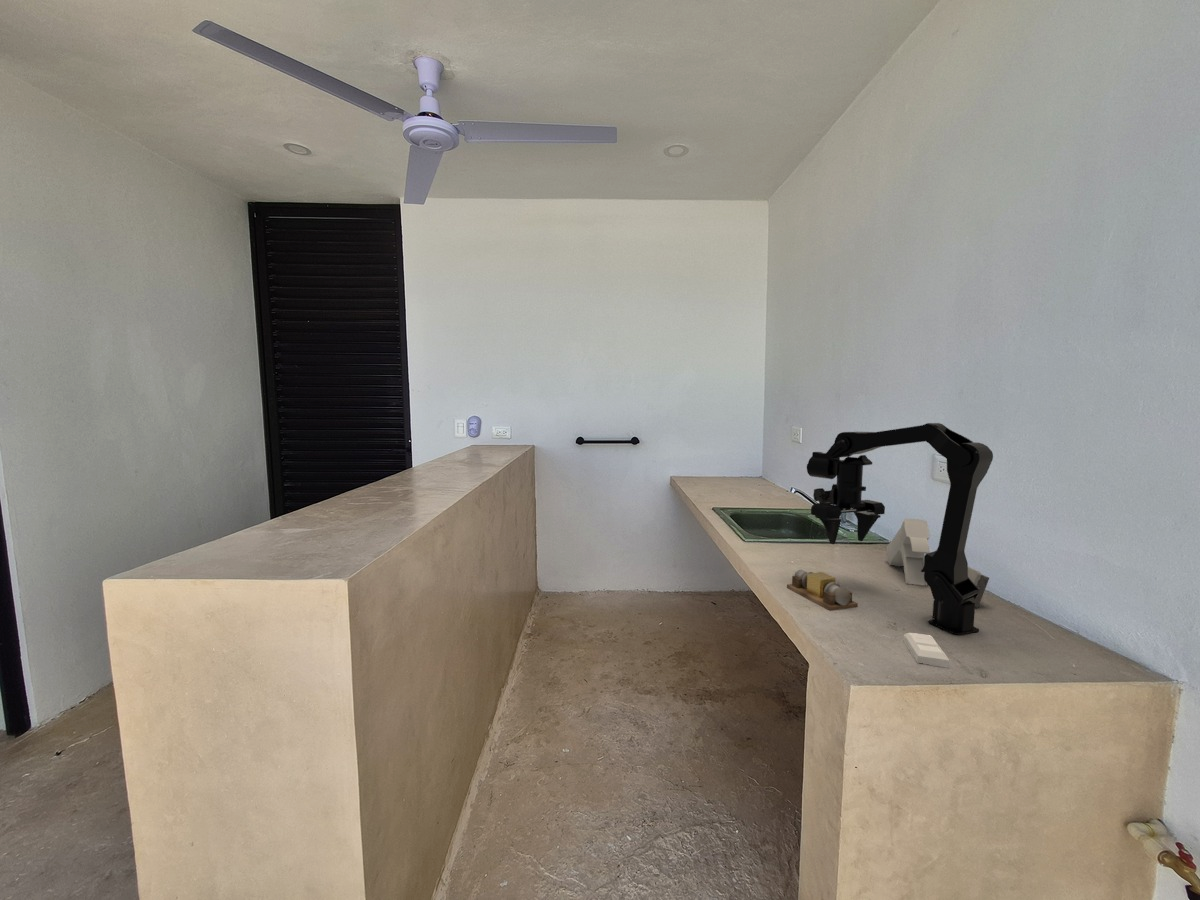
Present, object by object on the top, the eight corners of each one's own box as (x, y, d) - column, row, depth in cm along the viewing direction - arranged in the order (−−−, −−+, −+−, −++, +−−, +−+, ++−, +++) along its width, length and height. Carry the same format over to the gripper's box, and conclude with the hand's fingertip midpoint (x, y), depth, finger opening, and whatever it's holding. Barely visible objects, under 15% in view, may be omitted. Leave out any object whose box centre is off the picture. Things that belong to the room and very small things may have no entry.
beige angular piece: (909, 548, 146) (929, 517, 130) (917, 601, 137) (939, 576, 121) (885, 546, 148) (902, 516, 132) (892, 598, 139) (910, 573, 123)
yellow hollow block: (836, 596, 118) (836, 578, 117) (820, 598, 116) (821, 580, 116) (820, 588, 123) (821, 571, 122) (805, 590, 121) (806, 573, 121)
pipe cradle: (857, 606, 114) (858, 586, 113) (829, 610, 111) (830, 589, 111) (812, 584, 128) (812, 566, 128) (786, 587, 126) (787, 569, 125)
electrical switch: (936, 594, 122) (942, 558, 121) (956, 596, 122) (963, 560, 121) (964, 609, 113) (971, 571, 112) (986, 612, 113) (993, 573, 112)
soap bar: (932, 646, 96) (932, 633, 95) (948, 669, 87) (949, 655, 87) (903, 642, 97) (904, 630, 97) (917, 665, 89) (918, 651, 88)
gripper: (851, 475, 132) (848, 531, 133) (796, 478, 126) (794, 537, 127) (887, 481, 121) (884, 542, 123) (829, 485, 115) (826, 549, 117)
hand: (846, 542), depth 123 cm, fingers open, 9 cm apart
